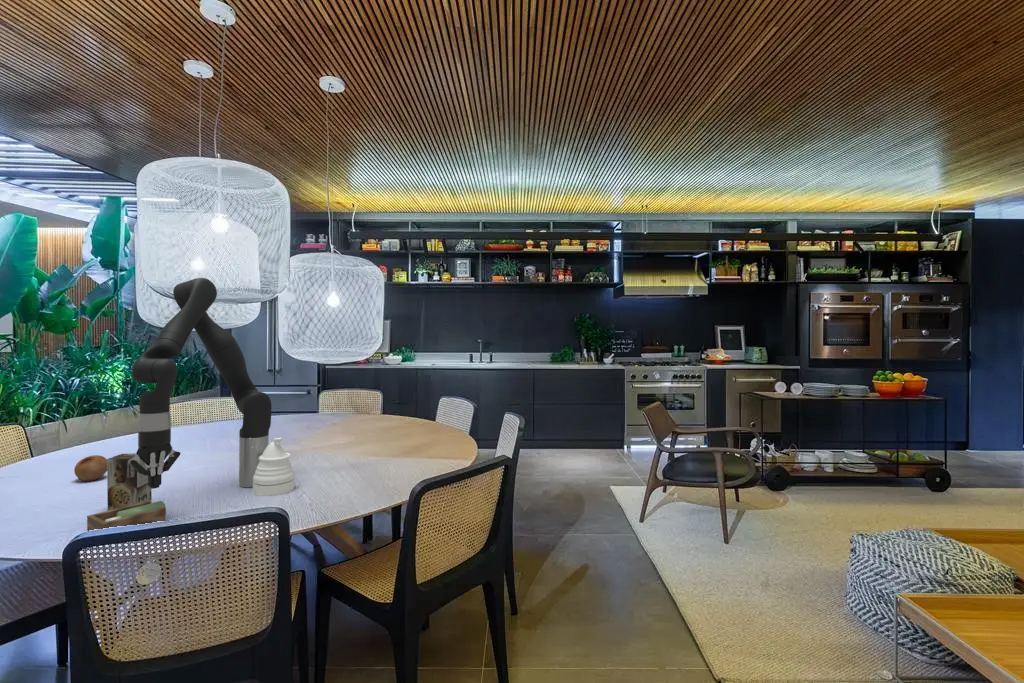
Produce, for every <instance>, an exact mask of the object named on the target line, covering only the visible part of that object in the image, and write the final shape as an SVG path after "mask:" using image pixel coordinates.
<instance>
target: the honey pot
mask: <svg viewBox="0 0 1024 683" xmlns="http://www.w3.org/2000/svg"><path fill="white" fill-rule="evenodd" d="M282 441H283V438H282V437H274V438H273V441H271V442H269V445H268V446H267V447H266V449H265V450H264V452H263V454H262V455H261V456H260V457H259V460H260V461H259V464H258V466H257V467H256V471H255V474H254V476H253V487H252V494H253V495H254V496H258V497H259V496H260V497H273V496H280V495H284V494H287V493H290V492H292V491H293V490H294V489H295V471H294V470H293V467H292V463H291V461H290V458H291V456H292V454H291V453H289V452H286V450H285V448H284V447H283V446H282V444H281V442H282Z"/></svg>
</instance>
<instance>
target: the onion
mask: <svg viewBox="0 0 1024 683" xmlns="http://www.w3.org/2000/svg"><path fill="white" fill-rule="evenodd" d="M107 459H108V458H106V457H105V456H102V455H97V454H95V455H93V454H92V455H89V456H85V457H84V458H81V459H79V461H78V462H77V463H75V466H74V470H73V472H74V475H75V476H76V477H77V479H78V480H81V481H84V482H91V481H96V480H98V479H100V478H102V477H103V476H104V475H105V474H107Z"/></svg>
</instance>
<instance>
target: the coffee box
mask: <svg viewBox="0 0 1024 683" xmlns="http://www.w3.org/2000/svg"><path fill="white" fill-rule="evenodd" d="M134 456H136V452H135V453H120V454H117V455H114V456H111V457H109V458H106V459H107V472H106V476H107V478H106V480H107V484H106V485H107V511H109V510H113V509H117V508H121V507H126V506H130V505H134V504H138V503H142V502H146V501H149V502H150V504H151V503H153V501H152V499H153V498H152V491H153V489H152V488H150V487H149V486H148V476H147V475H143V474H140V473H139V472H138V471H136V470H135V469H134V468H133V467H132V466H131V465H130V464H129V463H127V460H128V459H132V458H133V457H134ZM139 460H140V463H139V464H140V465H141V466H142V467H143V468H144V469H146V466H145V463H144V462H143V461H142V460H141V459H140V458H139ZM146 470H147V469H146Z"/></svg>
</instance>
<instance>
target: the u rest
mask: <svg viewBox="0 0 1024 683" xmlns="http://www.w3.org/2000/svg"><path fill="white" fill-rule="evenodd" d="M147 504H150V502H149V501H146V502H142V503H138V504H134V505H130V506H126V507H121V508H117V509H113V510H109V511H108V510H107V511H106V510H105V511H102V512H98V513H94V514H90V515H87V516H86V517H87V518H86V519H87V520H86V523H87V524H86V526H87V528H86V531H87V530H94V529H103V528H109V527H117V526H127V525H137V524H145V523H152V522H157V521H165V522H166V515H165V508H164V507H162V508H158V509H154V510H150V511H147V512H143V513H139V514H135V515H131V516H128V517H124V518H120V519H116V520H112V521H108V522H105V520H106V519H110V518H113V517H116V515H117V513H118V512H119V511H123V510H127V509H131V508H135V507H139V506H143V505H147Z"/></svg>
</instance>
